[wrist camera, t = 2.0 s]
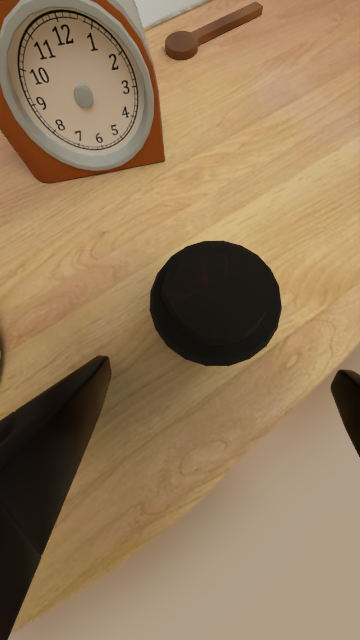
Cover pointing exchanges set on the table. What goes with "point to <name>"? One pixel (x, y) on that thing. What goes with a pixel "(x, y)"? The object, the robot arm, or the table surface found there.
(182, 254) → the coffee cup
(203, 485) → the table surface
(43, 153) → the alarm clock
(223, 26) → the wooden spoon
